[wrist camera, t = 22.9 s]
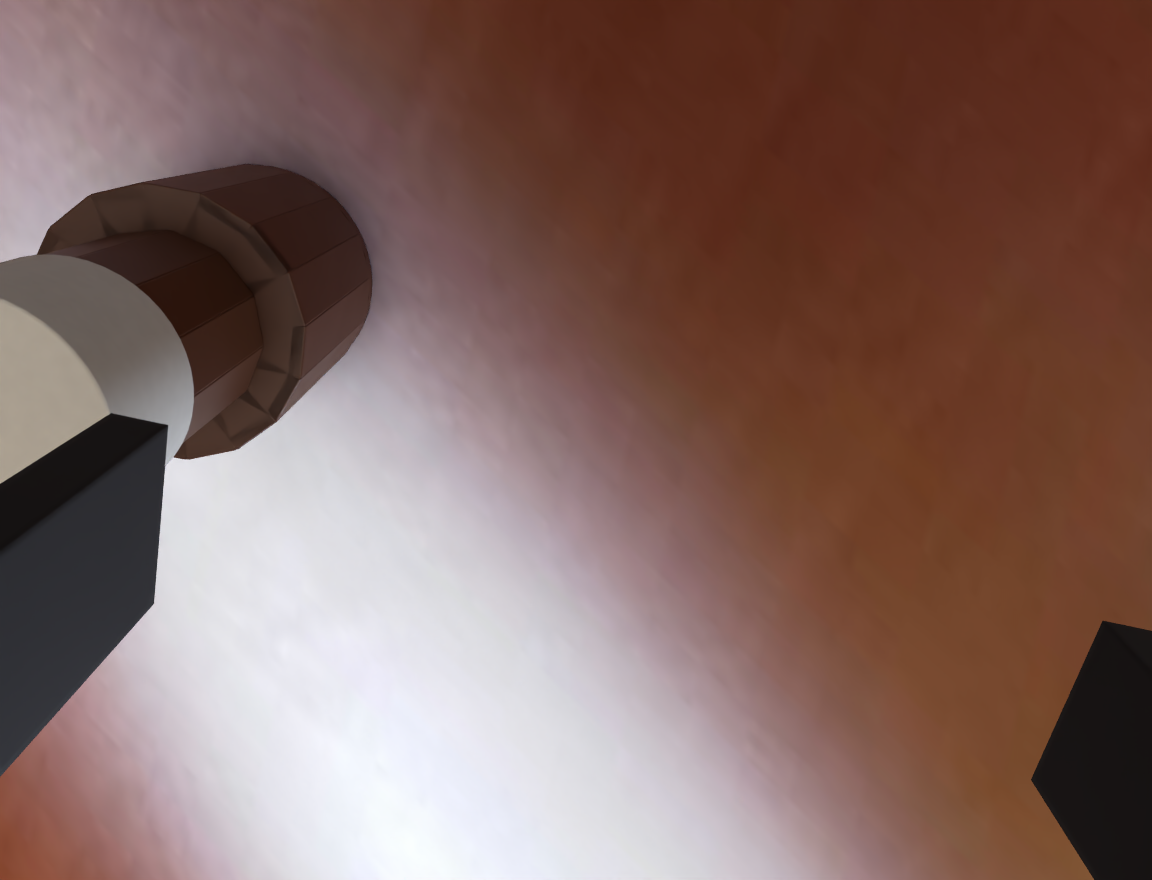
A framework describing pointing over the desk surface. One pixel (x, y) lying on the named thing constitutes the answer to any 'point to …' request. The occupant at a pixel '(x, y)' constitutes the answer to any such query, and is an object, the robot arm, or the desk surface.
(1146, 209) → the desk surface
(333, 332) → the bottle
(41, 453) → the stopper
